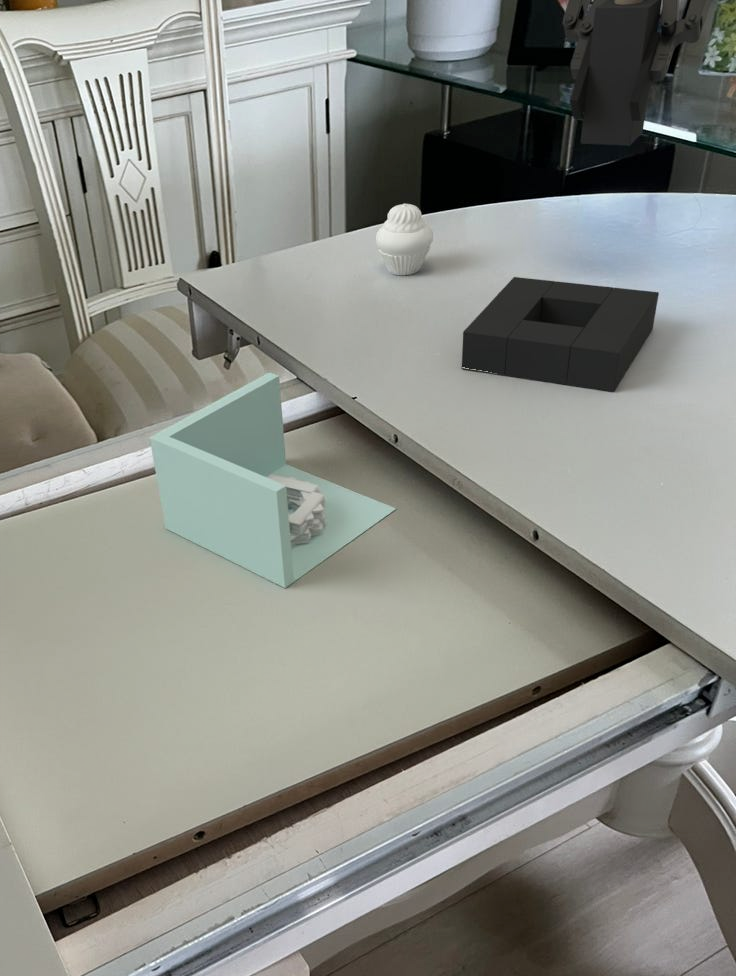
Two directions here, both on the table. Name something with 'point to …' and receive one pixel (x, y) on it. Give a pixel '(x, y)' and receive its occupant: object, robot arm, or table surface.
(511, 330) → the base pad
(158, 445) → the right angle wall
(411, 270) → the muffin
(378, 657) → the table surface
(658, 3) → the pad post
